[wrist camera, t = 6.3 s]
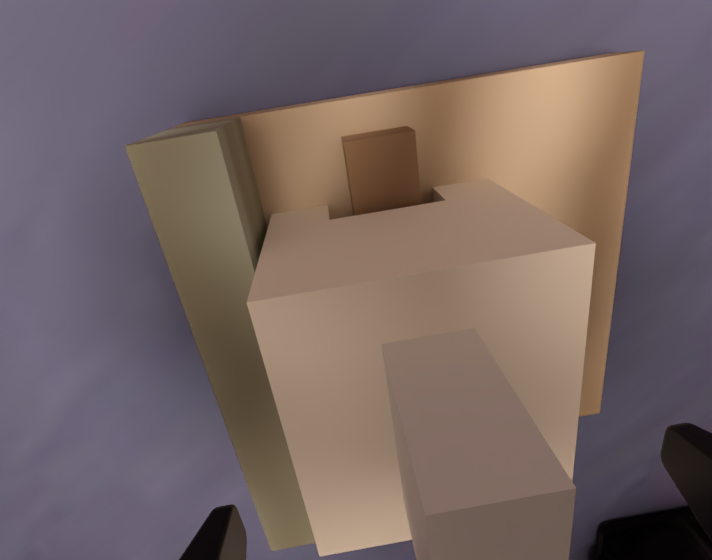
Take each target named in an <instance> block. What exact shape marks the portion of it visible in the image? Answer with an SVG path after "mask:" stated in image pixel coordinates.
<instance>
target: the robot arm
mask: <svg viewBox="0 0 712 560" xmlns="http://www.w3.org/2000/svg"><path fill="white" fill-rule="evenodd" d="M661 459H662V462H663V465H664V467H665V468H666V470H667V472H668V473H669V475H670V476H671V478H672V480H673V481H674V483H675V484H676V486H677V488H678V489H679V491H680V492H681V494H682V496H683V497H684V499H685V500H686V502H687V504H688V505H689V507H690V508H691V509H685V510H680V511H674V512H669V513H664V514H658V515H653V516H647V517H642V518H636V519H631V520H626V521H620V522H615V523H609V524H606V525H604V526H602V527H601V528H600V530H599V536H598V543H597V550H596V557H595V560H712V433H710V432H708V431H706V430H704V429H702V428H700V427H698V426H696V425H693V424H690V423H681V424H676V425H671V426H668V427H667V429H666V431H665V435H664V440H663V445H662V449H661ZM246 546H247V538H246V531H245V528H244V525H243V523H242V520H241V518H240V515H239V512H238V510H237V508H236V506H235V505H226V506H220V507H216V508H215V509H213V510H212V512H211V513H210V514H209V516H208V517H207V519H206V520H205V522H204V523H203V525H202V526H201V528H200V529H199V531H198V532H197V534H196V535H195V537H194V538H193V540H192V541H191V543H190V544H189V546H188V547H187V549H186V550H185V552H184V553H183V555H182V556H181V558H180V559H179V560H246Z"/></svg>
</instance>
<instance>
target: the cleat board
mask: <svg viewBox="0 0 712 560" xmlns="http://www.w3.org/2000/svg"><path fill="white" fill-rule="evenodd" d="M643 59H644V51H633V52H618V53H609V54H603V55H597V56H591V57H585V58H578V59H572V60H566V61H560V62H554V63H548V64H542V65H535V66H529V67H523V68H517V69H511V70H505V71H499V72H492V73H486V74H480V75H474V76H468V77H462V78H456V79H450V80H443V81H437V82H431V83H425V84H419V85H413V86H407V87H400V88H394V89H388V90H382V91H376V92H370V93H364V94H358V95H351V96H345V97H339V98H333V99H327V100H321V101H315V102H308V103H302V104H296V105H290V106H284V107H278V108H272V109H266V110H259V111H253V112H247V113H241V114H235V115H229V116H223V117H216V118H210V119H204V120H198V121H192V122H186V123H183V124H180V125H177V126H175V127H172V128H170V129H167V130H165V131H162V132H160V133H157V134H154V135H152V136H149V137H147V138H144V139H142V140H139V141H136V142H134V143H131V144H129V145H126V146H125V149H126V151H127V154H128V157H129V160H130V162H131V165H132V168H133V171H134V173H135V176H136V179H137V182H138V184H139V187H140V190H141V193H142V195H143V198H144V201H145V204H146V206H147V209H148V212H149V215H150V218H151V220H152V223H153V226H154V229H155V231H156V234H157V237H158V240H159V242H160V245H161V248H162V251H163V253H164V256H165V259H166V262H167V264H168V267H169V270H170V273H171V275H172V278H173V281H174V284H175V286H176V289H177V292H178V295H179V298H180V300H181V303H182V306H183V309H184V311H185V314H186V317H187V320H188V322H189V325H190V328H191V331H192V333H193V336H194V339H195V342H196V344H197V347H198V350H199V353H200V355H201V358H202V361H203V364H204V366H205V369H206V372H207V375H208V378H209V380H210V383H211V386H212V389H213V391H214V394H215V397H216V400H217V402H218V405H219V408H220V411H221V413H222V416H223V419H224V422H225V424H226V427H227V430H228V433H229V435H230V438H231V441H232V444H233V446H234V449H235V452H236V455H237V458H238V460H239V463H240V466H241V469H242V471H243V474H244V477H245V480H246V482H247V485H248V488H249V491H250V493H251V496H252V499H253V502H254V504H255V507H256V510H257V513H258V515H259V518H260V521H261V524H262V527H263V529H264V532H265V535H266V538H267V540H268V543H269V546H270V549H271V551H274V550H280V549H285V548H291V547H296V546H302V545H307V544H313V543H316V542H315V539H314V535H313V532H312V528H311V525H310V521H309V518H308V514H307V511H306V507H305V504H304V501H303V497H302V494H301V490H300V487H299V483H298V480H297V476H296V473H295V469H294V466H293V462H292V459H291V455H290V452H289V448H288V445H287V441H286V438H285V435H284V431H283V428H282V424H281V421H280V417H279V414H278V410H277V407H276V403H275V400H274V396H273V393H272V389H271V386H270V382H269V379H268V375H267V372H266V368H265V365H264V362H263V358H262V355H261V351H260V348H259V344H258V341H257V337H256V334H255V330H254V327H253V323H252V320H251V316H250V313H249V309H248V306H247V299H248V296H249V292H250V289H251V285H252V282H253V278H254V275H255V271H256V268H257V264H258V261H259V257H260V254H261V250H262V247H263V243H264V240H265V236H266V233H267V229H268V225H269V222H270V218H271V215H272V214H275V213H281V212H287V211H293V210H299V209H305V208H311V207H317V206H323V205H328V210H329V215H330V220H331V219H337V218H343V217H349V216H355V215H361V214H367V213H373V212H379V211H385V210H391V209H397V208H403V207H409V206H415V205H421V204H427V203H433V189H432V187H437V186H443V185H449V184H455V183H461V182H467V181H473V180H479V179H485V178H488V179H490V180H491V181H493V182H495V183H496V184H498V185H500V186H501V187H503V188H505V189H506V190H508V191H510V192H511V193H513V194H515V195H516V196H518V197H520V198H521V199H523V200H525V201H526V202H528V203H530V204H531V205H533V206H535V207H536V208H538V209H540V210H541V211H543V212H545V213H546V214H548V215H550V216H551V217H553V218H555V219H556V220H558V221H560V222H561V223H563V224H565V225H566V226H568V227H570V228H572V229H573V230H575V231H577V232H578V233H580V234H582V235H583V236H585V237H587V238H588V239H590V240H592V241H593V242H595V243H596V246H595V256H594V266H593V277H592V287H591V297H590V307H589V317H588V327H587V337H586V348H585V358H584V368H583V378H582V388H581V398H580V408H579V417H580V416H586V415H591V414H597V413H600V406H601V398H602V390H603V382H604V374H605V366H606V358H607V350H608V341H609V333H610V325H611V317H612V309H613V301H614V293H615V285H616V277H617V269H618V261H619V253H620V245H621V236H622V228H623V220H624V212H625V204H626V196H627V188H628V180H629V172H630V164H631V156H632V148H633V140H634V131H635V123H636V115H637V107H638V99H639V91H640V83H641V75H642V67H643Z"/></svg>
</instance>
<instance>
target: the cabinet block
mask: <svg viewBox="0 0 712 560" xmlns="http://www.w3.org/2000/svg"><path fill="white" fill-rule="evenodd" d="M432 189H433V203H427V204H421V205H415V206H409V207H403V208H397V209H391V210H385V211H379V212H373V213H367V214H361V215H355V216H349V217H343V218H337V219H331V220H330V215H329V210H328V205H323V206H317V207H311V208H305V209H299V210H293V211H287V212H281V213H275V214H272V215H271V218H270V222H269V225H268V229H267V233H266V236H265V240H264V243H263V247H262V250H261V254H260V257H259V261H258V264H257V268H256V271H255V275H254V278H253V282H252V285H251V289H250V292H249V296H248V299H247V306H248V309H249V313H250V316H251V320H252V323H253V327H254V330H255V334H256V337H257V341H258V344H259V348H260V351H261V355H262V358H263V362H264V365H265V368H266V372H267V375H268V379H269V382H270V386H271V389H272V393H273V396H274V400H275V403H276V407H277V410H278V414H279V417H280V421H281V424H282V428H283V431H284V435H285V438H286V441H287V445H288V448H289V452H290V455H291V459H292V462H293V466H294V469H295V473H296V476H297V480H298V483H299V487H300V490H301V494H302V497H303V501H304V504H305V507H306V511H307V514H308V518H309V521H310V525H311V528H312V532H313V535H314V539H315V542H316V546H317V549H318V553H319V556H325V555H331V554H336V553H342V552H347V551H353V550H358V549H364V548H369V547H375V546H380V545H386V544H391V543H397V542H402V541H408V540H412V542H413V547H414V551H415V556H416V560H569V552H570V542H571V533H572V523H573V514H574V504H575V495H576V487H575V485H574V484H573V482H572V479H573V469H574V459H575V449H576V439H577V429H578V418H579V408H580V398H581V388H582V378H583V368H584V358H585V348H586V337H587V327H588V317H589V307H590V297H591V287H592V277H593V266H594V256H595V246H596V243H595V242H593V241H592V240H590V239H588V238H587V237H585V236H583V235H582V234H580V233H578V232H577V231H575V230H573V229H572V228H570V227H568V226H566V225H565V224H563V223H561V222H560V221H558V220H556V219H555V218H553V217H551V216H550V215H548V214H546V213H545V212H543V211H541V210H540V209H538V208H536V207H535V206H533V205H531V204H530V203H528V202H526V201H525V200H523V199H521V198H520V197H518V196H516V195H515V194H513V193H511V192H510V191H508V190H506V189H505V188H503V187H501V186H500V185H498V184H496V183H495V182H493V181H491V180H490V179H488V178H485V179H479V180H473V181H467V182H461V183H455V184H449V185H443V186H437V187H432Z"/></svg>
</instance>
